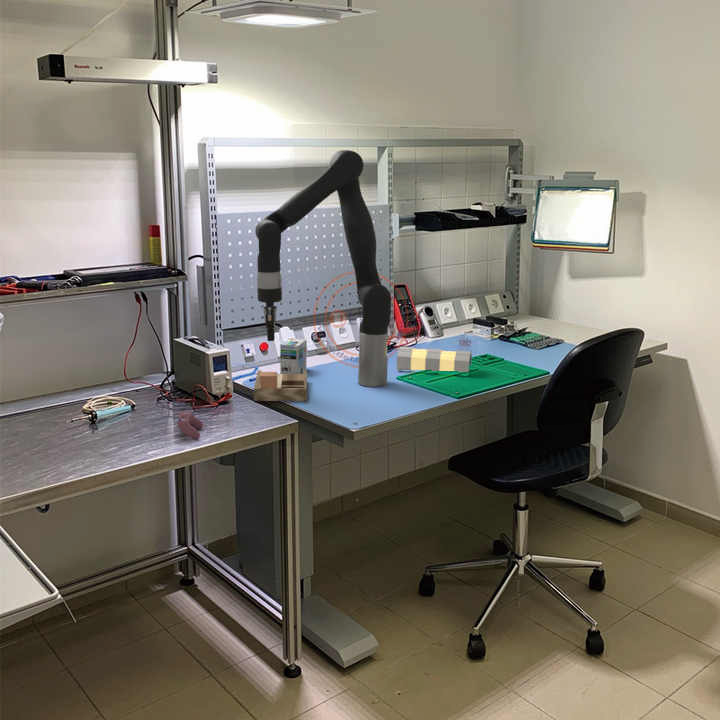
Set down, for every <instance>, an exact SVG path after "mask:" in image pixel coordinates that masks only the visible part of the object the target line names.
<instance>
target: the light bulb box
mask: <svg viewBox="0 0 720 720" xmlns="http://www.w3.org/2000/svg"><path fill="white" fill-rule="evenodd" d="M307 342H308V341H307V339H302V338H288V339H286V340H285V341H283V342H282V343H281V344H280V345H279V349H280V350H279V351H280V353H279V354H280V355H279V356H280V358H279V364H280V367H279V369H280V370H279V371H280V373H279V374H304V371H307V358H308V357H307V352H308V351H307V349H308V347H307V346H308V345H307Z"/></svg>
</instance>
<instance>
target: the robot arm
mask: <svg viewBox="0 0 720 720" xmlns="http://www.w3.org/2000/svg"><path fill="white" fill-rule="evenodd" d="M363 171H364V160H363V158H362V156H361V155H360V154H359V153H357V152H356V151H353V150H351V149H348V150H347V149H342V150H338V151H336V152H334V154H333V155H332V156H331V158H330V161H329V168H327V170H325V171H324V172H323V174H321V175H320V176H319V177H318V178H316V179H315V180H314V181H313V182H311V183H309V184H307V186H305V187H303V188H302V189H300V190H298V192H296V193H295V194H293V195H292V196H291V197H289V199H287V200H286V201H284V203H283V204H282V205H281V206H279V207H278V209H276V210H274V211H273V212H271V213H270V214H268V215H267V216H266V217H264V218H263V219H262V220H260V221H259V222H258V224H257V225H256V227H255V236H256V238H257V239H258V255H257V261H256V263H257V264H256V265H257V276H256V277H257V278H256V283H257V284H256V285H257V287H256V289H257V301H258V302H259V303H264V304H265V306H263V314H264V322H265V325H266V326H265V328H266V335H267V336H266V337H267V341H268V342H274V341H275V340H276V339H275V337H276V336H275V329H276V322H277V308H278V307H277V306H276V305H275V303H280V302H282V301H283V300H282V299H283V290H282V289H283V288H282V287H283V283H282V281H283V279H282V273H281V255H280V254H281V246H282V233H283V232H285V230H287V229H289V228H290V227H293V226H295V225H297V223H299V222H300V221H301V220H303V218H304V217H305V218H306V216H307V215H308V214H310V213H311V212H312V211H313V210H314V209H315V208H317V206H319V205H320V204H321V203H322V202H324V201H325V200H326V199H327V198H328V197H329V196H331V195H333V194H334V193H336V191H337V196H338V200H339V206H340V214H341V218H342V224H343V230H344V235H345V239H346V243H347V247H348V251H349V255H350V259H351V263H352V265H353V270H354V275H355V282H356V283H355V284H356V290H357V291H356V293H357V300H358V302H359V304H360V305H361V307H362V318H361V322H360V324H359V330H358V331H359V333H358V335H359V336H358V337H359V339H358V377H357V378H358V379H357V383H358V385H360V386H364V387H370V388H372V387H373V388H375V387H382V386H387V385H388V365H389V363H388V362H389V361H388V360H389V357H388V339H389V338H388V331H389V326H390V324H391V311H392V295H391V291H390V290H389V289H388V287H386V286H385V285H384V284H383V285H382V281H381V280H380V276H379V273H378V272H379V271H378V268H377V263H376V262H377V260H376V259H377V237H376V233H375V232H376V231H375V227H374V222H373V219H372V216H371V214H370V211H369V209H368V206H367V204H366V202H365V200H364V198H363V195H362V191H361V187H360V178H359V177H360V176H361V175H362V173H363Z"/></svg>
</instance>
